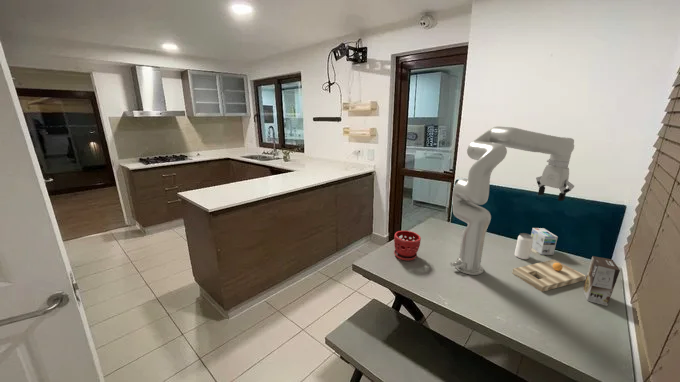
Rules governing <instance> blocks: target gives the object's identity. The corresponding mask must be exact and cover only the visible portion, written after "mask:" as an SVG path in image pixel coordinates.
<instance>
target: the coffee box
mask: <svg viewBox="0 0 680 382" xmlns="http://www.w3.org/2000/svg"><path fill="white" fill-rule="evenodd" d="M620 271H621V270H620V268H619V267H618V265H617V264H616V263H615V261H614V259H612V258H611V259H610V258H605V257H599V256H594V255H592V257H591V259H590V263H589V266H588V270H587V273H586V277H585V280H584V284H583V287H582V290H583V293H584V296H585V299H586V301H587V302H591V303H594V304H598V305H601V306H605V307H607V306H609V303H610V299H611V297H612V294H613V292H614V289H615V286H616V283H617V280H618V277H619V275H620V274H619V273H621V272H620Z"/></svg>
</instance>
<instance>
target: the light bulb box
mask: <svg viewBox="0 0 680 382" xmlns="http://www.w3.org/2000/svg"><path fill="white" fill-rule="evenodd" d="M530 235H531V236H533V244H532V248H531V249H534V250H535V251H536V252H537V253H538V254H539V255H544V256H545V255H547V256H548V255H549V256H550V255H551V256H553V255H554V254H555V249H556V245H557V241H558V238H559V237H558V236H557V235H556V234H554V233H552V232H550V231H549V230H548V229H546V228H544V227H542V228H541V227H540V228H539V227H532V229H531V233H530Z"/></svg>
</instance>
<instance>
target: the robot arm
mask: <svg viewBox="0 0 680 382" xmlns="http://www.w3.org/2000/svg"><path fill="white" fill-rule="evenodd" d="M507 148H510V149H515V150H520V151H523V152H524V151H525V152H530V153H531V152H532V153H540V154H545V155H550V156H549V159H547V160H546V162H547V163H548V164H546V165H545V167H544V169H543V171H542V175H540V176H537V177H536V178H535V179H536V184H537V185H538V186H537V187H538V196H542V195H544V194H545V191H546V187H550V188H554V189H558V190H559V191H560V192H559V193H558V197H557V201H559V202H562V201H565V198H566V196H567V193H568V192H571V191H572V189H574V188H575V185H574V184H573V183H571V182H570V181H569V177H570V168H569V164H570V161H571V156H572V152H573V151H574V149H575V139H574V138H572V137H566V136H565V137H561V136H557V135H555V136H554V135H551V134H545V133H541V132H536V131H531V130H527V129H526V130H525V129H522V128H517V127H511V126H494V127H491V128H490V129H488V130H486V131H485V132H484V133H483V134H481V135H479V136H478V137H477V138H475V139H474V140H473V141H471V142H470V143H469V145H468V147H467V148H466V149H467V150H466V154H467V156H468V157H469V158H470V159H471V160H474V161H475V162H474V163H473V164H472V166H470V168H469V171H468V176H467V178H462V179H459V180H458V181H456V183H455V184H454V187H453V190H452V213H453V216H454V217H455V218H457V219H459V220H460V221H462V222H464V223H466V224H467V226H466V227H465V228H464V229H463V230H462V233H461V241H460V248H459V256H458V257H457V259H456V260H455V261H451V262H450V263H449V265H450V267H455V268H456V269H457V271H459V272H461V273H463V274H465V275H466V274H467V275H470V276H478V275H481V274H483V273H484V266H482V265H481V264H482V258H483V250H484V246H485V239H486V234H487V231H488V230H487V229H488V227H489V225H490V223H491V221H492V220H491V219H492V215H491V212H490V211H489V210H488V209H486V208H485V207H483V205H485V204H486V203H487V202H488V199H489V196H490V185H491V184H490V183H491V174H492V172H493V171H494V170H495V168H496V167H497V166H498V165H499V164H500V163H501V162H502V161H504V160H505V158H506V156H507V154H508V150H507Z"/></svg>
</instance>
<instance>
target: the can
mask: <svg viewBox="0 0 680 382" xmlns="http://www.w3.org/2000/svg"><path fill="white" fill-rule="evenodd" d="M532 244H533V236H531V234H529V233H526V232H522V233H521V232H520V233H519V235H518V236H517V240H516V246H515V250H514V256H515V257H516V258H518V259H521V260H528V259H529V260H530V256H531V252H532V249H533V248H532Z"/></svg>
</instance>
